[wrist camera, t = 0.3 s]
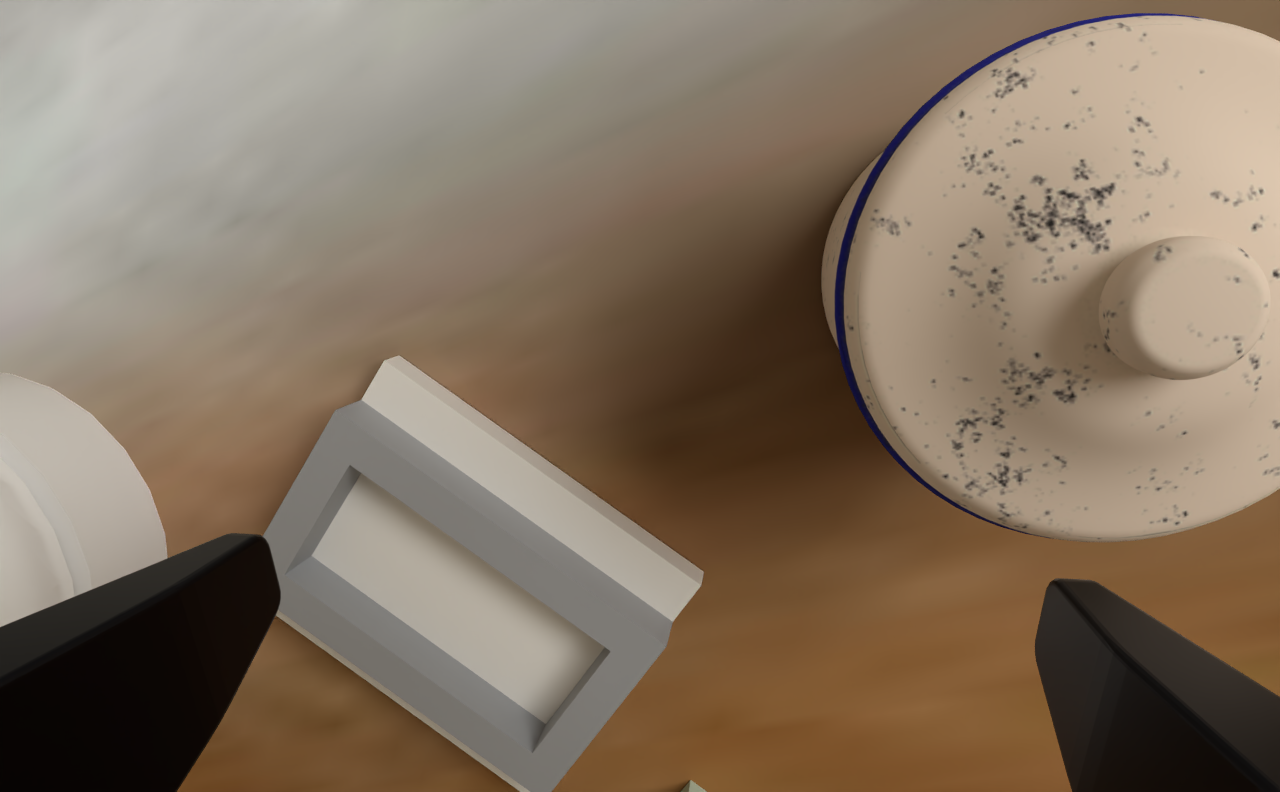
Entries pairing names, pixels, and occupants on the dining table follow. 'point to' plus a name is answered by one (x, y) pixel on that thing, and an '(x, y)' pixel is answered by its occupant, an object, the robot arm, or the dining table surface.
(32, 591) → the honey pot
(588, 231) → the dining table surface
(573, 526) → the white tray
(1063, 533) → the teacup with lid
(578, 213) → the dining table surface
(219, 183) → the dining table surface
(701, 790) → the pale green block
